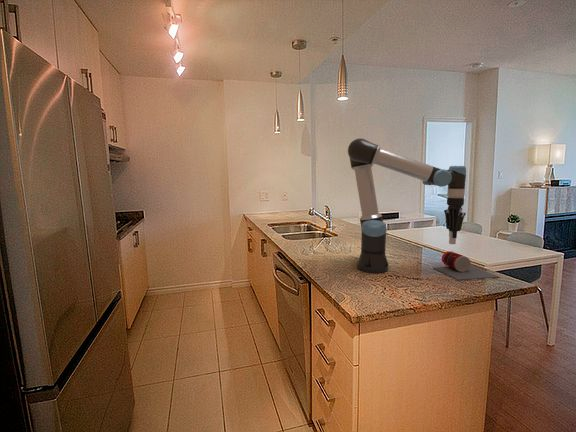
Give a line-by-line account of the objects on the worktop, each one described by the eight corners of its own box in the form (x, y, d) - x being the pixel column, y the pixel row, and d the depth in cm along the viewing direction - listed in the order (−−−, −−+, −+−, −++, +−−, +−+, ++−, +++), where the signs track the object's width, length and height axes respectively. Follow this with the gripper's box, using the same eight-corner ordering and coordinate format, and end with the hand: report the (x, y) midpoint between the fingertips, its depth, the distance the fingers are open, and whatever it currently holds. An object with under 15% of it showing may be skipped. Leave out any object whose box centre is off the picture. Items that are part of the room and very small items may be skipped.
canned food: (456, 263, 163) (471, 270, 152) (441, 267, 162) (456, 273, 151) (454, 249, 162) (470, 254, 151) (440, 252, 161) (454, 258, 150)
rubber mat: (457, 280, 142) (458, 279, 142) (433, 268, 159) (433, 267, 159) (499, 278, 145) (499, 276, 145) (470, 266, 163) (470, 265, 163)
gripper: (471, 198, 153) (468, 246, 156) (453, 196, 166) (450, 240, 169) (457, 198, 152) (454, 247, 155) (440, 196, 164) (437, 241, 168)
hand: (452, 243), depth 162 cm, fingers closed
